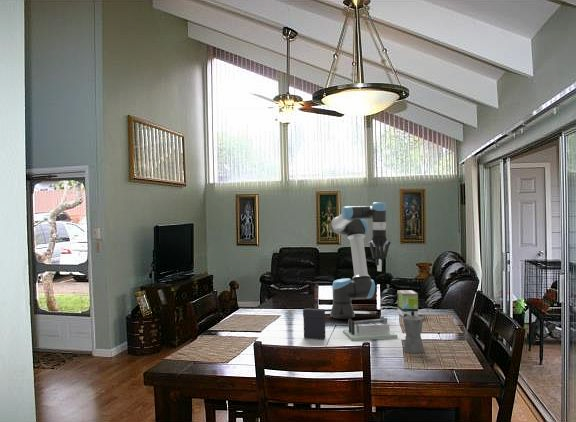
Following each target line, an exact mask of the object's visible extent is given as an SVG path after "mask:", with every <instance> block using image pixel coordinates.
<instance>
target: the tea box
mask: <svg viewBox="0 0 576 422" xmlns="http://www.w3.org/2000/svg"><path fill="white" fill-rule="evenodd" d="M396 296H397V297H396V298H397V313H398V314H399V315H400V316H401V317H402V318H403V317H404V315H405V314H407V315H410V316H411V312H412V311H413V312H414V316H419V293H418V292H416V291H415V290H412V289H411V290H410V289H409V290H407V289H405V290H404V289H403V290H401V289H400V290H398V289H397V295H396Z"/></svg>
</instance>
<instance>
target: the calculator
mask: <svg viewBox="0 0 576 422" xmlns="http://www.w3.org/2000/svg"><path fill="white" fill-rule="evenodd" d="M302 318H303V338H304V339H312V340H322V341H323V340H325V339H326V337H327V336H326V310H325V309H323V308H311V307H310V308H303V310H302Z"/></svg>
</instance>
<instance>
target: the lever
mask: <svg viewBox="0 0 576 422" xmlns="http://www.w3.org/2000/svg"><path fill="white" fill-rule="evenodd" d="M353 321H354V325H355V324H364V323H375V322H383V318H382V319H380V318H375V319H362V320H353Z"/></svg>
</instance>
